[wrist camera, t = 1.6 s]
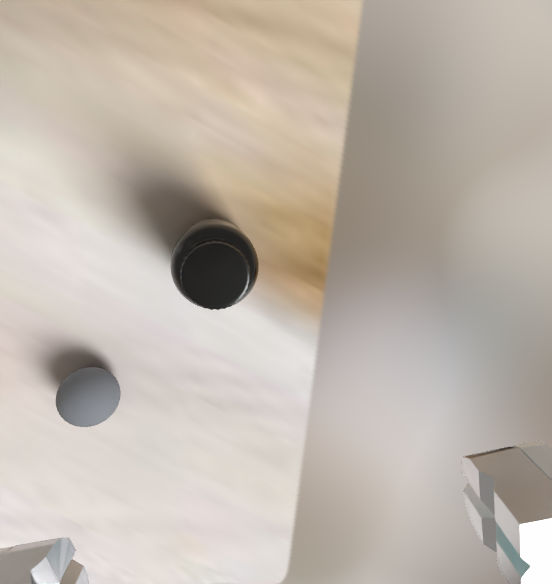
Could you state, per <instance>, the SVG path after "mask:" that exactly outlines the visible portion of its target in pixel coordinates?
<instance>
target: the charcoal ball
mask: <svg viewBox="0 0 552 584" xmlns="http://www.w3.org/2000/svg"><path fill="white" fill-rule="evenodd" d="M119 400H120V387H119V383H118V381H117V380H116V378H115V377H114V376H113V375H112V374H111V373H110V372H108V371H107V370H105V369H102V368H97V367H86V368H82V369H79V370H77V371H75V372H73V373H71V374H70V375H69V376H68V377H66V378H65V379H64V381H63V382H62V383H61V385H60V386H59V389H58V391H57V394H56V407H57V410H58V412H59V414H60V416H61V417H62V418H63V419H64V420H65V421H66V422H68V423H70V424H72V425H75V426H79V427H89V426H94V425H97V424H99V423H101V422H103V421H105V420H106V419H108V418H109V417H110V416H111V415H112V414H113V412H114V411H115V410H116V408H117V406H118V403H119Z"/></svg>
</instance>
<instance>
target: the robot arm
mask: <svg viewBox="0 0 552 584" xmlns="http://www.w3.org/2000/svg"><path fill="white" fill-rule="evenodd" d="M461 466H462V473H463V475H464V476H465V478H466V479H467V481H468V482H469V483H468V484H467V486H466V487H465V489H464V500H465V505H466V508H467V511H468V515H469V518H470V521H471V522H472V524H473V527H474V529H475V531H476V533H477V534H478V536H479V537H480V539H481V541H482V543H483V544H484V545H486V546H487V547H489V548H491V549H492V550H494V551H495V552H497V559H498V560H497V561H498V568H499V570H500V572H501V573H502V574H503V576H504V578H505V579H506V581H507V583H508V584H552V448H551V447H549V446H548V445H547V444H546V443H544V442H542V441H539V440H537V441H533V442H528V443H523V444H519V445H514V446H512V447H505V448H500V449H496V450H491V451H486V452H481V453H477V454H472V455H467V456H463V458H462V461H461ZM75 551H76V549H75V548H74V546H73V544H72V542H71V540H70V539H69V538H57V539H51V540H45V541H39V542H33V543H28V544H22V545H16V546H14V547H8V548H2V549H0V584H89V581H88V575H87V572H86V570H85V568H84V566H83V565H81V564H79V563H78V562H76V561H74V560H73V556H74V554H75Z"/></svg>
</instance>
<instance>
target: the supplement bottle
mask: <svg viewBox="0 0 552 584" xmlns="http://www.w3.org/2000/svg"><path fill="white" fill-rule="evenodd" d="M171 274H172V278H173V281H174V283H175V285H176V287H177V289H178V290H179V292H180V293H181V294H182V295H183V296H184V297H185V298H186V299H187V300H189V301H190V302H192V303H193V304H195V305H197V306H200V307H203V308H208V309H211V310H212V309H217V310H219V309H225V308H227V307H230V306H232V305H235V304H237V303H238V302H240V301H241V300H242V299H244V298H245V297H246V296H247V295H248V294H249V292H250V291H251V290H252V288H253V286H254V284H255V282H256V279H257V275H258V258H257V254H256V251H255V249H254V247H253V245H252V243H251V242H250V240H249V239H248V238H247V237H246V236H245V235H244V233H243V232H242V231H241V230H240V229H239V228H237V227H236V226H235V225H233V224H232V223H230V222H228V221H225V220H222V219H213V218H212V219H205V220H202V221H199V222H197V223H195V224H194V225H192V226H191V227H190V228H189V229H188V230H187V231H186V232H185V233H184V235H183V236H182V237H181V238H180V240H179V241H178V242H177V244H176V246H175V248H174V251H173V254H172V258H171Z"/></svg>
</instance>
